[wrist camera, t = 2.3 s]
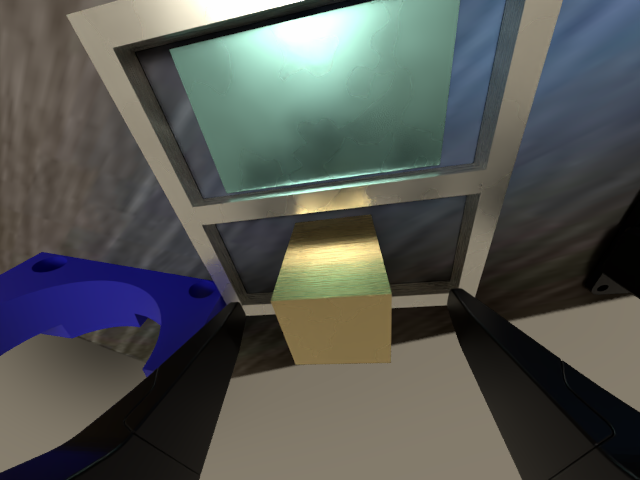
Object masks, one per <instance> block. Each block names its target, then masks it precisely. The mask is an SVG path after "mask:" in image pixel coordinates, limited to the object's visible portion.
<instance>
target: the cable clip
mask: <svg viewBox="0 0 640 480" xmlns="http://www.w3.org/2000/svg"><path fill="white" fill-rule="evenodd" d="M225 306H227V304H226V303H225V301H224V299H223V297H222V295H221V294H220V292H219V290H218V288H217V286H216V285H215V283H214V281H210V280H204V279H198V278H192V277H186V276H181V275H175V274H169V273H163V272H157V271H151V270H145V269H139V268H133V267H127V266H121V265H115V264H109V263H104V262H98V261H92V260H86V259H80V258H74V257H68V256H62V255H56V254H50V253H44V252H41V253H39V254H38V255H36V256H34V257H32V258H30V259H29V260H27V261H25V262H23V263H21V264H19V265H18V266H16V267H14V268H12V269H10V270H9V271H7V272H5V273H3V274H1V275H0V356H1V355H2V354H4V353H5V352H7V351H9V350H10V349H12V348H13V347H15V346H17V345H19V344H21V343H22V342H24V341H26V340H28V339H30V338H32V337H34V336H36V335H38V334H40V333H42V334H47V335H54V336H60V337H66V338H74V337H77V336H80V335H82V334H85V333H89V332H92V331H96V330H100V329H104V328H110V327H118V326H137V327H141V325H142V324H143V323H144V322H145V321H146V319H147V318H150V319H152V320H154V321H156V322H157V323H158V324H160V325H161V329H160V334H159V338H158V341H157V343H156V346H155V348H154V350H153V352H152V354H151V356H150V358H149V360H148V361H147V363H146V364H145V366H144V368H143V371H144V373H145V375H146V377H148V376H149V375H150V374H151V373H152V372H153V371H154V370H156V369H157V368H159V366H160V365H161V364H162V363H163V362H165V361H166V360H167V359H168V358H169V357H170V356H171V355H172V354H173V353H174V352H176V351H177V350H178V349H179V348H180V347H181V346H182V345H183V344H184V343H186V342H187V341H188V340H189V339H190V338H191V337H192V336H193V335H194V334H196V333H197V332H198V331H199V330H200V329H201V328H202V327H203V326H204V325H206V324H207V323H208V322H209V321H210V320H211V319H212V318H213V317H214V316H215V315H217V314H218V313H219V312H220V311H221V310H222V309H223V308H224V307H225Z"/></svg>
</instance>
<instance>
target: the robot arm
mask: <svg viewBox="0 0 640 480" xmlns="http://www.w3.org/2000/svg"><path fill="white" fill-rule="evenodd" d="M585 287H586V288H587V289H588V290H589V291H590V292H592V293H593V294H597V295H600V294H618V293H632V294H633V295H634V296H636V297H637V298H639V299H640V200H639V201H638V203H637V204H636V206H635V207H634V209H633V211H632V212H631V214H630V215H629V217H628V218H627V220H626V222H625V223H624V225H623V226H622V228H621V229H620V231H619V232H618V234H617V236H616V237H615V239H614V240H613V242H612V243H611V245H610V247H609V248H608V250H607V251H606V253H605V254H604V256H603V258H602V259H601V261H600V262H599V264H598V265H597V267H596V268H595V270H594V272H593V273H592V275H591V276H590V278H589V279H588V281H587V283H586V284H585ZM447 308H448V311H449V314H450V317H451V320H452V323H453V326H454V329H455V332H456V335H457V338H458V340H459V343H460V346H461V348H462V351H463V353H464V355H465V357H466V359H467V361H468V364H469V366H470V368H471V370H472V372H473V374H474V377H475V379H476V381H477V383H478V385H479V387H480V390H481V392H482V394H483V396H484V398H485V400H486V402H487V405H488V407H489V409H490V411H491V413H492V415H493V418H494V420H495V422H496V424H497V426H498V428H499V431H500V433H501V435H502V437H503V439H504V441H505V444H506V446H507V448H508V450H509V452H510V454H511V456H512V459H513V460H514V463H515V465H516V467H517V469H518V471H519V474H520V476H521V478H522V480H640V412H638V411H637V410H635V409H634V408H632V407H630V406H629V405H627V404H626V403H624V402H623V401H621V400H620V399H618V398H617V397H615V396H613V395H612V394H611V393H609V392H608V391H606V390H604V389H603V388H601V387H600V386H598V385H597V384H596V383H594V382H592V381H591V380H590V379H588V378H587V377H585V376H584V375H583V374H581V373H579V372H578V371H577V370H575V369H574V368H572V367H571V366H570V365H568V364H567V363H565V362H564V361H561V359H560V358H559V357H557V356H556V355H554V354H553V353H551V352H550V351H549V350H547V349H546V348H545V347H543V346H542V345H540V344H539V343H538V342H536V341H535V340H533V339H532V338H531V337H529V336H528V335H526V334H525V333H524V332H522V331H521V330H519V329H518V328H517V327H515V326H514V325H512V324H511V323H510V322H508V321H507V320H505V319H504V318H503V317H501V316H500V315H499V314H497V313H496V312H494V311H493V310H492V309H490V308H489V307H487V306H486V305H485V304H483V303H482V302H480V301H479V300H478V299H476V298H475V297H473V296H472V295H471V294H469V293H468V292H466V291H465V290H464V289H462V288H455V289H450V291H449V295H448V300H447ZM245 320H246V314H245V311H244V309H243V307H242V305H241V304H240V303H239V302H231V303H229V304H228V305H227V306H225V307H224V308H223V309H222V310H221V311H220V312H219V313H218V314H217V315H215V316H214V317H213V318H212V319H211V320H210V321H209V322H208V323H207V324H206V325H204V326H203V327H202V328H201V329H200V330H199V331H198V332H197V333H196V334H194V335H193V336H192V337H191V338H190V339H189V340H188V341H187V342H186V343H184V344H183V345H182V346H181V347H180V348H179V349H178V350H177V351H176V352H174V353H173V354H172V355H171V356H170V357H169V358H168V359H167V360H166V361H165V362H163V363H162V364H161V365H160V366H159V368H157V369H156V370H154V371H153V372H152V373H151V374H150V375H149V376H148V377H147V378H146V379H144V380H143V381H142V382H141V383H140V384H139V385H138V386H136V387H135V388H134V389H133V390H132V391H130V392H129V393H128V394H127V395H126V396H124V397H123V398H122V399H121V400H120V401H118V402H117V403H116V404H115V405H113V406H112V407H111V408H110V409H109V410H107V411H106V412H105V413H104V414H103V415H101V416H100V417H99V418H97V419H96V420H95V421H94V422H92V423H91V424H90V425H89V426H87V427H86V428H85V429H84V430H83V431H81V432H80V433H79V434H77V435H76V436H75V437H73V438H72V439H70V440H69V441H67V442H66V443H64V444H62V445H61V446H59V447H57V448H55V449H53V450H51V451H49V452H47V453H45V454H42V455H40V456H38V457H35V458H33V459H31V460H29V461H26V462H24V463H22V464H19V465H17V466H15V467H13V468H10V469H8V470H6V471H4V472H1V473H0V480H199V479H200V474H201V472H202V469H203V465H204V462H205V459H206V455H207V452H208V449H209V446H210V443H211V439H212V436H213V433H214V430H215V427H216V423H217V421H218V417H219V414H220V411H221V407H222V404H223V401H224V398H225V395H226V391H227V388H228V385H229V382H230V379H231V376H232V372H233V369H234V366H235V363H236V360H237V356H238V353H239V349H240V345H241V340H242V335H243V330H244V325H245Z"/></svg>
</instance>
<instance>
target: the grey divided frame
mask: <svg viewBox="0 0 640 480" xmlns="http://www.w3.org/2000/svg"><path fill="white" fill-rule="evenodd" d="M342 1H346V0H118V1H114V2H111V3H107V4H104V5H100V6H97V7H93V8H89V9H86V10H82V11H79V12H75V13H72V14H68V15H67V17H68V19H69V21H70V23H71V24H72V26H73V28H74V30H75V32H76V33H77V35H78V37H79V39H80V41H81V43H82V44H83V46H84V48H85V50H86V52H87V53H88V55H89V57H90V59H91V61H92V62H93V64H94V66H95V68H96V70H97V71H98V73H99V75H100V77H101V79H102V80H103V82H104V84H105V86H106V88H107V89H108V91H109V93H110V95H111V97H112V99H113V100H114V102H115V104H116V106H117V108H118V109H119V111H120V113H121V115H122V117H123V118H124V120H125V122H126V124H127V126H128V127H129V129H130V131H131V133H132V135H133V136H134V138H135V140H136V142H137V144H138V145H139V147H140V149H141V151H142V153H143V154H144V156H145V158H146V160H147V162H148V164H149V165H150V167H151V169H152V171H153V173H154V174H155V176H156V178H157V180H158V182H159V183H160V185H161V187H162V189H163V191H164V192H165V194H166V196H167V198H168V200H169V201H170V203H171V205H172V207H173V209H174V210H175V212H176V214H177V216H178V218H179V220H180V221H181V223H182V225H183V227H184V229H185V230H186V232H187V234H188V236H189V238H190V239H191V241H192V243H193V245H194V247H195V248H196V250H197V252H198V254H199V256H200V257H201V259H202V261H203V263H204V265H205V266H206V268H207V270H208V272H209V274H210V275H211V277H212V279H213V281H214V283H215V285H216V286H217V288H218V290H219V292H220V294H221V295H222V297H223V299H224V301H225V303H226V304H227V305H228V304H229V303H231V302H239V303H240V304H241V305H242V307H243V309H244V311H245V314H246V316H251V315H270V314H275V311H274V309H273V306H272V304H271V298H272V295H273V292H270V293H255V294H247V293H246V290H245V288H244V286H243V284H242V282H241V280H240V278H239V275H238V273H237V271H236V269H235V267H234V265H233V263H232V260H231V258H230V256H229V254H228V252H227V250H226V248H225V245H224V243H223V241H222V239H221V237H220V235H219V233H218V230H217V228H216V226H215V224H217V223H226V222H234V221H243V220H252V219H260V218H269V217H278V216H287V215H295V214H304V213H313V212H321V211H330V210H339V209H347V208H356V207H365V206H374V205H382V204H391V203H400V202H408V201H417V200H426V199H435V198H443V197H452V196H461V195H467V200H466V204H465V209H464V214H463V219H462V224H461V229H460V234H459V239H458V244H457V249H456V254H455V259H454V264H453V269H452V274H451V279H450V281H436V282H421V283H406V284H391V285H390V289H391V293H392V308H404V307H423V306H442V305H447V300H448V295H449V291H450V289H455V288H462V289H464V290H465V291H466V292H468V293H469V294H471V295H472V296H473V297H475V295H476V292H477V289H478V285H479V282H480V278H481V275H482V272H483V268H484V265H485V261H486V258H487V255H488V251H489V248H490V245H491V241H492V238H493V234H494V231H495V228H496V224H497V221H498V218H499V214H500V211H501V207H502V204H503V201H504V197H505V194H506V190H507V187H508V184H509V180H510V177H511V174H512V170H513V167H514V163H515V160H516V157H517V153H518V150H519V146H520V143H521V140H522V136H523V133H524V130H525V126H526V123H527V119H528V116H529V113H530V109H531V106H532V102H533V99H534V96H535V92H536V89H537V86H538V82H539V79H540V75H541V72H542V69H543V65H544V62H545V59H546V55H547V52H548V48H549V45H550V42H551V38H552V35H553V31H554V28H555V25H556V21H557V18H558V15H559V11H560V8H561V4H562V1H563V0H507V1H506V6H505V11H504V15H503V20H502V25H501V30H500V35H499V40H498V45H497V50H496V55H495V60H494V65H493V70H492V75H491V80H490V85H489V90H488V95H487V100H486V105H485V110H484V115H483V120H482V125H481V130H480V135H479V140H478V145H477V150H476V155H475V160H474V163H471V164H463V165H456V166H448V167H441V168H433V169H426V170H418V171H410V172H403V173H395V174H388V175H380V176H373V177H365V178H358V179H350V180H343V181H335V182H327V183H320V184H312V185H305V186H297V187H290V188H282V189H275V190H267V191H260V192H252V193H244V194H237V195H229V196H222V197H214V198H207V199H203V198H202V196H201V194H200V192H199V190H198V187H197V185H196V183H195V181H194V179H193V177H192V175H191V172H190V170H189V168H188V166H187V164H186V162H185V160H184V157H183V155H182V153H181V151H180V149H179V147H178V145H177V142H176V140H175V138H174V136H173V134H172V132H171V130H170V127H169V125H168V123H167V121H166V119H165V117H164V114H163V112H162V110H161V108H160V106H159V104H158V102H157V99H156V97H155V95H154V93H153V91H152V89H151V87H150V84H149V82H148V80H147V78H146V76H145V74H144V72H143V69H142V67H141V65H140V63H139V61H138V59H137V57H136V54H135V52H136V51H140V50H144V49H148V48H153V47H157V46H161V45H165V44H169V43H173V42H177V41H181V40H186V39H190V38H194V37H198V36H202V35H206V34H210V33H214V32H218V31H223V30H227V29H231V28H235V27H239V26H243V25H247V24H251V23H255V22H260V21H264V20H268V19H272V18H276V17H280V16H284V15H288V14H293V13H297V12H301V11H305V10H309V9H313V8H317V7H321V6H325V5H330V4H334V3H338V2H342ZM459 4H460V0H374V1H370V2H366V3H362V4H357V5H353V6H349V7H345V8H341V9H337V10H332V11H328V12H324V13H320V14H316V15H311V16H307V17H303V18H299V19H295V20H290V21H286V22H282V23H278V24H274V25H270V26H265V27H261V28H257V29H253V30H249V31H244V32H240V33H236V34H232V35H228V36H223V37H219V38H215V39H211V40H207V41H203V42H198V43H194V44H190V45H186V46H182V47H177V48H173V49H169V50H170V53H171V55H172V58H173V60H174V63H175V65H176V68H177V70H178V73H179V75H180V78H181V80H182V83H183V85H184V88H185V90H186V93H187V95H188V98H189V100H190V103H191V105H192V108H193V110H194V113H195V115H196V118H197V120H198V123H199V125H200V128H201V130H202V133H203V135H204V138H205V140H206V143H207V145H208V148H209V150H210V153H211V155H212V158H213V160H214V163H215V165H216V168H217V170H218V173H219V175H220V178H221V180H222V183H223V185H224V188H225V190H226V193H232V192H240V191H247V190H255V189H262V188H269V187H277V186H284V185H292V184H299V183H307V182H314V181H322V180H329V179H337V178H344V177H351V176H359V175H366V174H374V173H381V172H389V171H396V170H404V169H411V168H418V167H426V166H433V165H440V159H441V151H442V143H443V135H444V126H445V118H446V110H447V102H448V94H449V86H450V78H451V69H452V61H453V53H454V45H455V37H456V29H457V20H458V12H459Z"/></svg>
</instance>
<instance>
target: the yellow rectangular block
mask: <svg viewBox="0 0 640 480" xmlns="http://www.w3.org/2000/svg"><path fill="white" fill-rule="evenodd" d="M271 304H272V306H273V309H274V311H275V314H276V316H277V319H278V321H279V324H280V326H281V329H282V331H283V334H284V336H285V339H286V341H287V344H288V346H289V349H290V352H291V354H292V357H293V359H294V362H295V364H296V365H305V364H351V363H352V364H353V363H354V364H357V363H391V311H392V293H391V289H390V285H389V281H388V278H387V274H386V270H385V266H384V262H383V259H382V255H381V251H380V247H379V243H378V240H377V236H376V232H375V228H374V224H373V220H372V217H371V215H363V216H354V217H345V218H336V219H326V220H317V221H308V222H299V223H295V226H294V229H293V232H292V236H291V239H290V242H289V245H288V248H287V251H286V254H285V257H284V261H283V264H282V267H281V270H280V273H279V276H278V279H277V283H276V286H275V289H274V292H273V295H272V298H271Z"/></svg>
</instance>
